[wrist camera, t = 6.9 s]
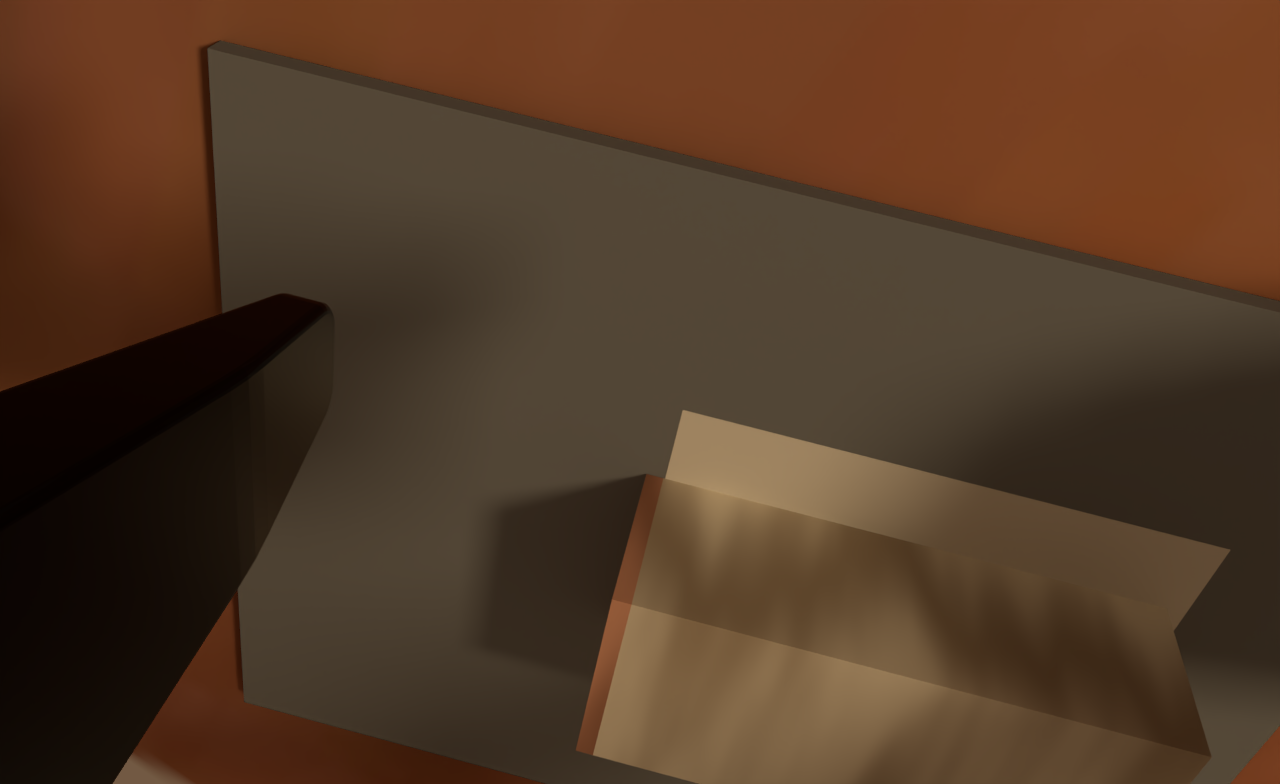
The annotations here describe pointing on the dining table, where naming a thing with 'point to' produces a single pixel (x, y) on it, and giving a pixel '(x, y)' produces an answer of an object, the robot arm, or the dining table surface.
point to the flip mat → (697, 407)
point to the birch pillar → (872, 661)
